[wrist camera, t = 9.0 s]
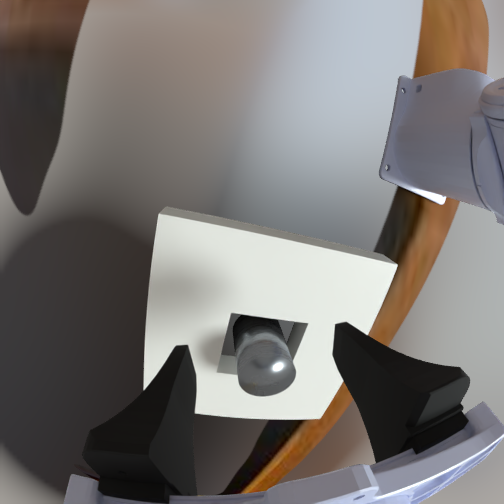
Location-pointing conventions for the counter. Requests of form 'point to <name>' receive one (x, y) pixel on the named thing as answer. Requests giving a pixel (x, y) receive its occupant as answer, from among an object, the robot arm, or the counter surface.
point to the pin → (262, 356)
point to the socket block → (256, 306)
